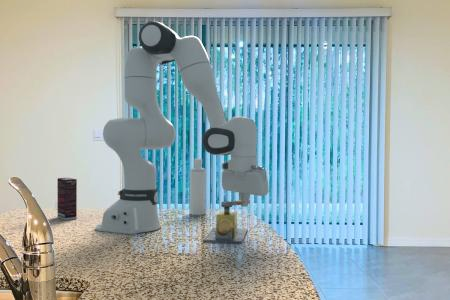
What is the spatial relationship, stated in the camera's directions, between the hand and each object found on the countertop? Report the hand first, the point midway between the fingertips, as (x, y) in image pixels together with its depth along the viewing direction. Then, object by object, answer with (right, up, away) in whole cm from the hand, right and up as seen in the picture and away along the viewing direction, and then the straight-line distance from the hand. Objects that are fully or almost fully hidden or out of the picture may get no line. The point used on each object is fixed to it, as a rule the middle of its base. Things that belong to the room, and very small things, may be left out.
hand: (244, 206), depth 130 cm
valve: (-6, -10, -3) cm, 12 cm away
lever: (-3, 0, 0) cm, 3 cm away
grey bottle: (-18, -9, +36) cm, 41 cm away
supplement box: (-69, -9, +25) cm, 74 cm away
